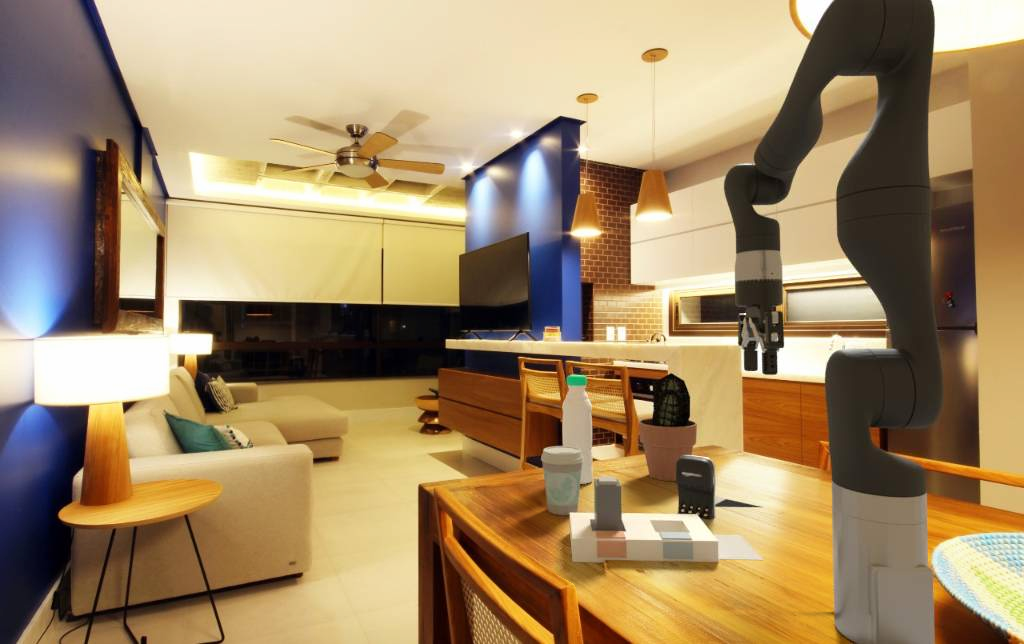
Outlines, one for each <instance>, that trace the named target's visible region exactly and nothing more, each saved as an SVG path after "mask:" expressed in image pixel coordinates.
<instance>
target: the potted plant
mask: <svg viewBox="0 0 1024 644" xmlns="http://www.w3.org/2000/svg"><path fill="white" fill-rule="evenodd" d="M652 400H653V401H652V402H653V405H652V408H653V411H652V417H651V418H650V417H649V418H643V419H640V420H638V432H639V442H640V443H642V445H643V452H644V456H645V460H646V461H645V462H646V465H647V470H648V471H647V472H648V475H649V476H650V477H651V478H652V479H655V480H658V481H663V482H664V481H665V482H676V462H677V460H678V459H679V458H680V457H681V456H683V455H693V448H694V446H695V445H696V444H697V434H698V433H697V431H698V423H696V421H694V420H690V417H691V395H690V393H689V390H688V387H687V385H686V382H685V380H684V379H683V378H681V377H678V376H677V375H675V374H673V373H672V372H671V373H669V374H667V375H664V376H663V377H661V378H659V379H658V380H657V384H656V385H655V389H654V392H653V394H652Z"/></svg>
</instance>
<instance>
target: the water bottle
mask: <svg viewBox="0 0 1024 644" xmlns="http://www.w3.org/2000/svg"><path fill="white" fill-rule="evenodd" d="M587 379H588V378H587V376H586V375H582V374H571V375H568V376H567V377H566V386H567V388H568V391H567V393H566V395H565V399H564V400H563V402H562V406H561V408H562V428H561V429H562V446H570V447H576V448H579V449H580V450H581V452H582V455H583V459H584V461H583V462H582V469H581V480H580V484H582V485H588V484H591V482H592V481H594V471H593V460H594V459H593V457H594V455H593V451H592V450H593V448H592V447H593V417H592V410H593V405H592V402H591V400H590V399H589V396H588V393H587V391H586V388H587V384H588V380H587ZM587 483H588V484H587Z"/></svg>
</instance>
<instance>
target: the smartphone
mask: <svg viewBox="0 0 1024 644" xmlns="http://www.w3.org/2000/svg"><path fill="white" fill-rule="evenodd" d="M715 508H762V506H760V505H756V504H751V503H746V502H743V501H737V500H733V499H728V498H725V497H720V496H717V497H716V496H715Z"/></svg>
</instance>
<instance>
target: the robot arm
mask: <svg viewBox="0 0 1024 644" xmlns="http://www.w3.org/2000/svg"><path fill="white" fill-rule="evenodd" d="M933 5H934V4H933V2H932V0H832V1H831V3H830V4H828V6H827V7H826V9H825V10H824V12H823V14H822V15H821V17H820V18H819V21H818V23H817V24H816V26H815V28H814V31H812V32H813V33H812V35H811V37H810V40H809V42H808V44H807V46H806V48H805V50H804V53H803V56H802V58H801V60H800V63H799V65H798V67H797V70H796V72H795V74H794V77H793V79H792V81H791V84H790V86H789V88H788V91H787V94H786V97H785V99H784V100H783V103H782V105H781V107H780V109H779V112H778V113H777V115H776V116H775V119H774V120H773V122H772V124H771V125H770V126H769V128H768V129H767V130H766V132H765V134H764V136H763V137H762V138H761V139H760V141H759V143H758V145H757V147H756V148H755V150H754V153H753V163H738V164H736V165H734V166H732V167H731V168H730V169H729V170H728V172H727V173H726V175H725V177H724V182H723V192H724V197H725V199H726V203H727V206H728V208H729V213H730V215H731V219H732V222H733V227H734V231H735V262H734V300H735V306H736V307H738V308H745V311H744V312H745V313H738V316H737V322H738V323H737V344H738V346H739V347H741V350H743V369H744V371H745V372H757V371H758V370H759V365H758V364H759V363H758V362H759V361H758V360H759V358H758V357H759V355H758V354H759V353H758V352H759V351H758V347H759V346H760V348H761V373H762V374H763V375H765V376H766V375H767V376H773V375H774V376H775V375H778V369H779V368H778V352H780V349H784V348H785V335H784V334H785V332H784V313H783V311H781V310H780V311H779V310H777V311H776V310H775V311H774V308H773V307H780V306H782V305H783V303H784V295H783V294H784V290H783V289H784V288H783V287H784V286H783V262H782V256H781V255H782V254H781V228H780V222H779V221H778V220H777V219H776V218H774V217H769V216H765V215H762V214H760V213H757V211H756V210H755V208H754V206H774V205H776V204H779V203H780V202H782V201H784V200H786V198H787V197H788V195H789V194H790V191H791V188H792V184H793V181H794V178H795V175H796V173H797V170H798V168H799V166H800V165H801V163H802V162H803V161H804V160H805V158H806V157H807V156H808V155H809V154H810V153H811V151H812V150H813V149H814V147H815V146H816V144H817V143H818V141H819V139H820V137H821V134H822V131H823V126H824V118H823V117H824V116H823V108H822V101H821V100H822V93H823V91H824V90H825V89H826V87H827V86H828V84H830V83H831V82H832V80H834V79H835V78H836V77H839V76H840V77H875V79H876V82H877V83H876V85H877V99H876V100H877V101H876V108H875V115H874V118H873V120H872V123H871V125H870V127H869V129H868V131H867V132H866V134H865V136H864V138H863V139H862V141H861V143H860V144H859V145H858V147H857V148H856V150H855V151H854V153H853V154H852V156H851V158H850V159H849V161H848V162H847V165H846V166H845V168H844V169H843V171H842V172H841V174H840V175H841V176H840V178H839V179H838V183H837V186H836V193H835V197H836V198H835V201H836V202H835V204H836V207H835V209H836V236H837V241H838V243H839V247H840V248H841V250H842V251H843V253H844V255H845V257H846V258H847V260H848V262H850V264H851V265H852V266H853V269H855V271H857V273H858V274H859V275H860V277H861V278H862V280H864V282H865V283H866V284H867V286H868V287H869V288H870V289H871V291H872V292H873V293H874V295H875V296H876V298H877V300H878V302H880V305H881V307H882V309H883V311H884V314H885V317H886V319H887V324H888V329H889V333H890V339H891V348H843V349H838V350H836V351H834V352H832V354H830V356H829V358H828V360H827V362H826V367H825V372H824V391H825V392H824V393H825V396H824V397H825V404H826V415H827V416H826V417H827V430H828V449H829V453H828V454H829V459H830V467H831V513H832V514H831V517H832V518H831V520H832V521H831V522H832V523H831V525H832V526H831V527H832V567H833V568H832V572H833V578H832V579H833V581H832V582H833V611H834V612H833V616H834V621H833V622H834V627H836V629H837V630H838V632H839V633H840V634H842V635H843V636H844V637H845V638H847V639H849V640H850V641H852V642H854V643H855V644H935V641H936V640H935V609H934V607H935V604H934V602H935V601H934V600H935V599H934V572H933V570H932V568H931V567H929V548H928V546H929V545H928V500H927V499H928V495H927V494H928V493H927V491H928V487H927V482H928V481H927V474H926V470H925V469H924V467H923V466H922V465H920V464H919V463H917V462H915V461H913V460H911V459H908V458H906V457H903V456H900V455H897V454H894V453H890V452H888V451H885V450H883V449H882V448H880V447H879V446H877V445H875V443H874V442H873V439H872V435H871V428H872V429H875V428H878V429H925V428H929V427H932V426H933V425H934V424H936V422H937V421H938V420H939V417H940V416H941V413H942V409H943V405H944V396H945V395H944V391H945V390H944V389H945V387H944V386H945V384H944V373H943V371H944V370H943V364H942V354H941V348H940V342H939V335H938V327H937V319H936V311H935V304H934V293H933V290H934V289H933V276H932V274H933V273H932V272H933V271H932V193H931V189H932V188H931V179H930V178H931V177H930V175H931V174H930V163H929V159H930V158H929V157H930V156H929V112H930V111H929V110H930V109H929V107H930V105H929V104H930V91H931V82H932V81H931V79H932V69H933V60H934V59H933V58H934V50H935V49H934V48H935V35H936V34H935V31H936V21H935V20H936V17H935V10H934V9H935V8H934V6H933Z"/></svg>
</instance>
